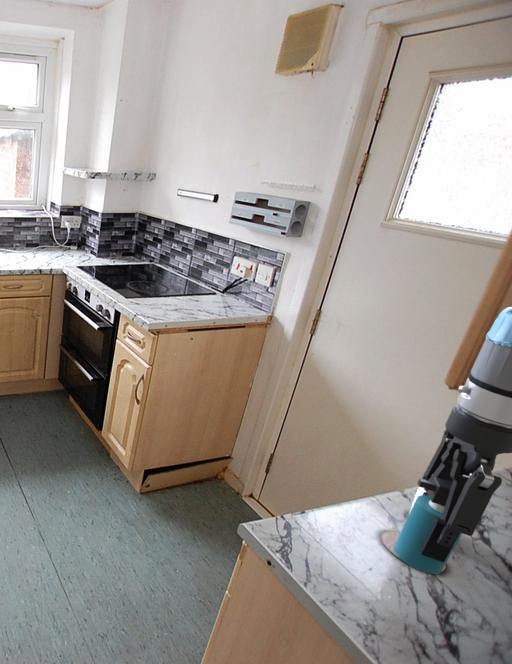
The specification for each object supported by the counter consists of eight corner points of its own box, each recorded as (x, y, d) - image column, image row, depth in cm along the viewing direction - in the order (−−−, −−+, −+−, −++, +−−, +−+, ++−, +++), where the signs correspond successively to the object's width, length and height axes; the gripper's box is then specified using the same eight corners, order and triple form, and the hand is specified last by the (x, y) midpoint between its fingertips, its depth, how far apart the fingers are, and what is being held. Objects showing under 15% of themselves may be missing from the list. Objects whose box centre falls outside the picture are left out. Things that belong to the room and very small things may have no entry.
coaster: (436, 546, 85) (436, 545, 85) (452, 581, 77) (453, 581, 77) (377, 525, 89) (377, 524, 89) (387, 557, 81) (387, 556, 81)
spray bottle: (435, 553, 74) (473, 483, 70) (447, 580, 70) (488, 506, 65) (383, 535, 77) (416, 466, 73) (391, 560, 72) (427, 488, 68)
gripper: (435, 382, 74) (383, 497, 82) (481, 438, 58) (410, 574, 66) (498, 396, 70) (437, 514, 78) (564, 460, 55) (479, 600, 63)
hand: (425, 541), depth 72 cm, fingers closed on spray bottle, 6 cm apart
